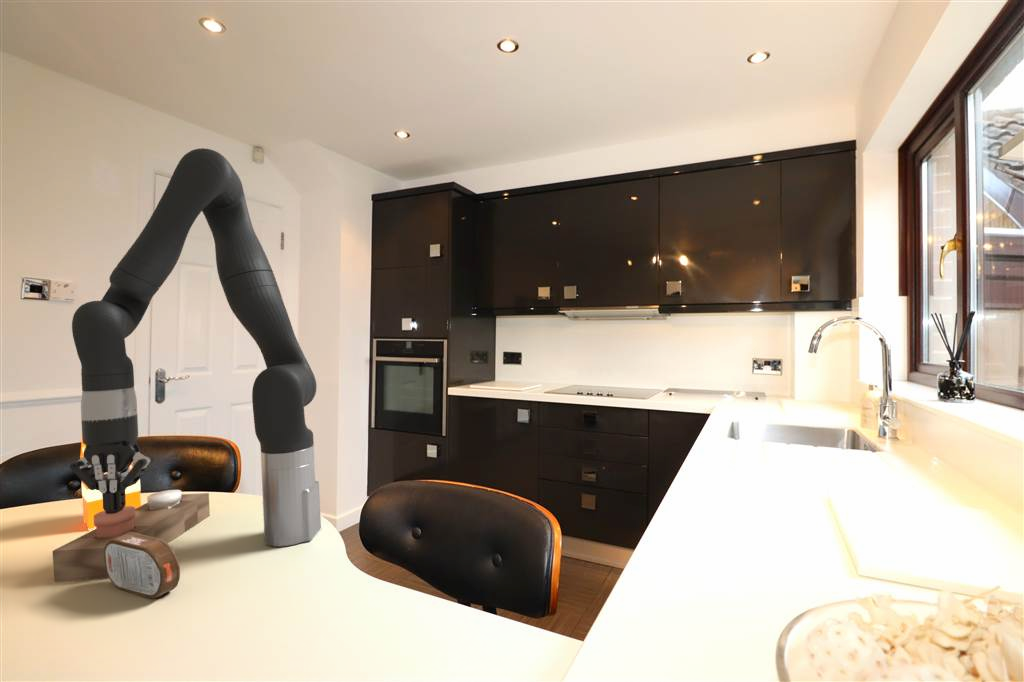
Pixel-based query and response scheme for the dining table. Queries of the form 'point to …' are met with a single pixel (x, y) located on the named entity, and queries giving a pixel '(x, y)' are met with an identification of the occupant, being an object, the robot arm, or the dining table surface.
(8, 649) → the dining table surface
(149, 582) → the tin
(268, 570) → the dining table surface
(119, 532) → the brick plunger
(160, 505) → the white rounded piece
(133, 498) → the orange juice
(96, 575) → the block
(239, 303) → the robot arm
